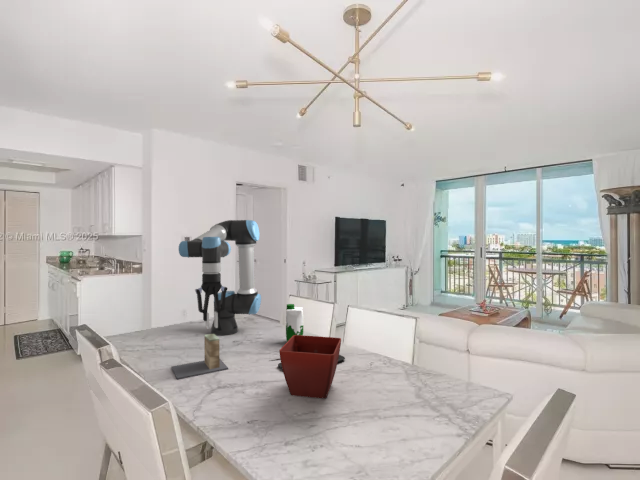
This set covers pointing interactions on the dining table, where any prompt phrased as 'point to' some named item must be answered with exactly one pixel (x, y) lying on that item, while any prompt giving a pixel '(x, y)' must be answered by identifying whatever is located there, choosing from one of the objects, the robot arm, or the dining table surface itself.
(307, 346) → the plant pot
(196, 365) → the rubber mat
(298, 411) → the dining table surface
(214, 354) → the oak slab
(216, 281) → the robot arm
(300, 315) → the milk carton
